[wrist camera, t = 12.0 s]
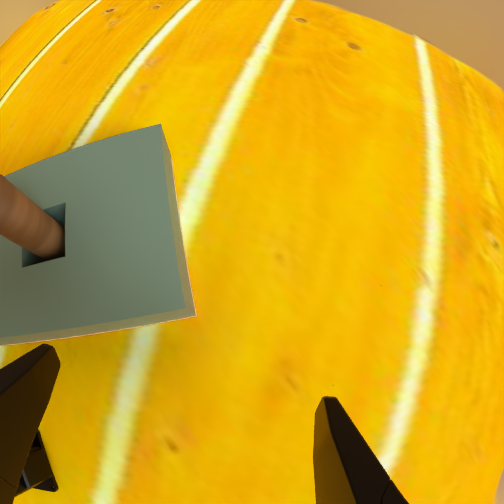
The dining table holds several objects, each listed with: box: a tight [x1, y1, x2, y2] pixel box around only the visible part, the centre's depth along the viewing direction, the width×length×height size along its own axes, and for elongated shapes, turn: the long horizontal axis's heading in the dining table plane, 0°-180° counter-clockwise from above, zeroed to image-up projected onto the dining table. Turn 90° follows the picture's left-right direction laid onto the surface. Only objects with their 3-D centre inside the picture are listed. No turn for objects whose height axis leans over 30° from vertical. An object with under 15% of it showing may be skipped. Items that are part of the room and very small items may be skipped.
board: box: [0, 124, 197, 346], centre depth 21 cm, size 20×14×5 cm
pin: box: [0, 175, 65, 261], centre depth 18 cm, size 3×3×11 cm
